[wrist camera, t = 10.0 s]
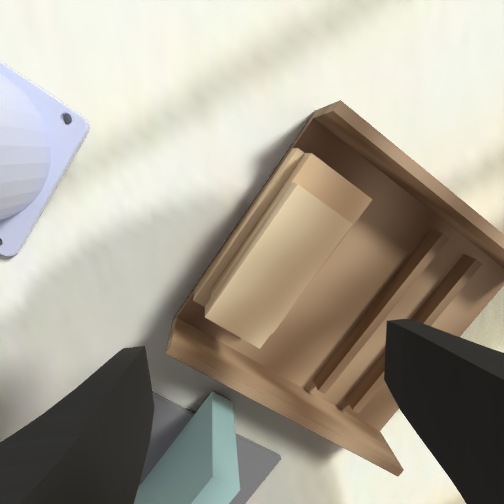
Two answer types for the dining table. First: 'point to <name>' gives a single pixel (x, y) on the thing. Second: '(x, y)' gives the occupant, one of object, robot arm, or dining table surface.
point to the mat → (248, 453)
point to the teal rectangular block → (197, 461)
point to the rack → (336, 281)
